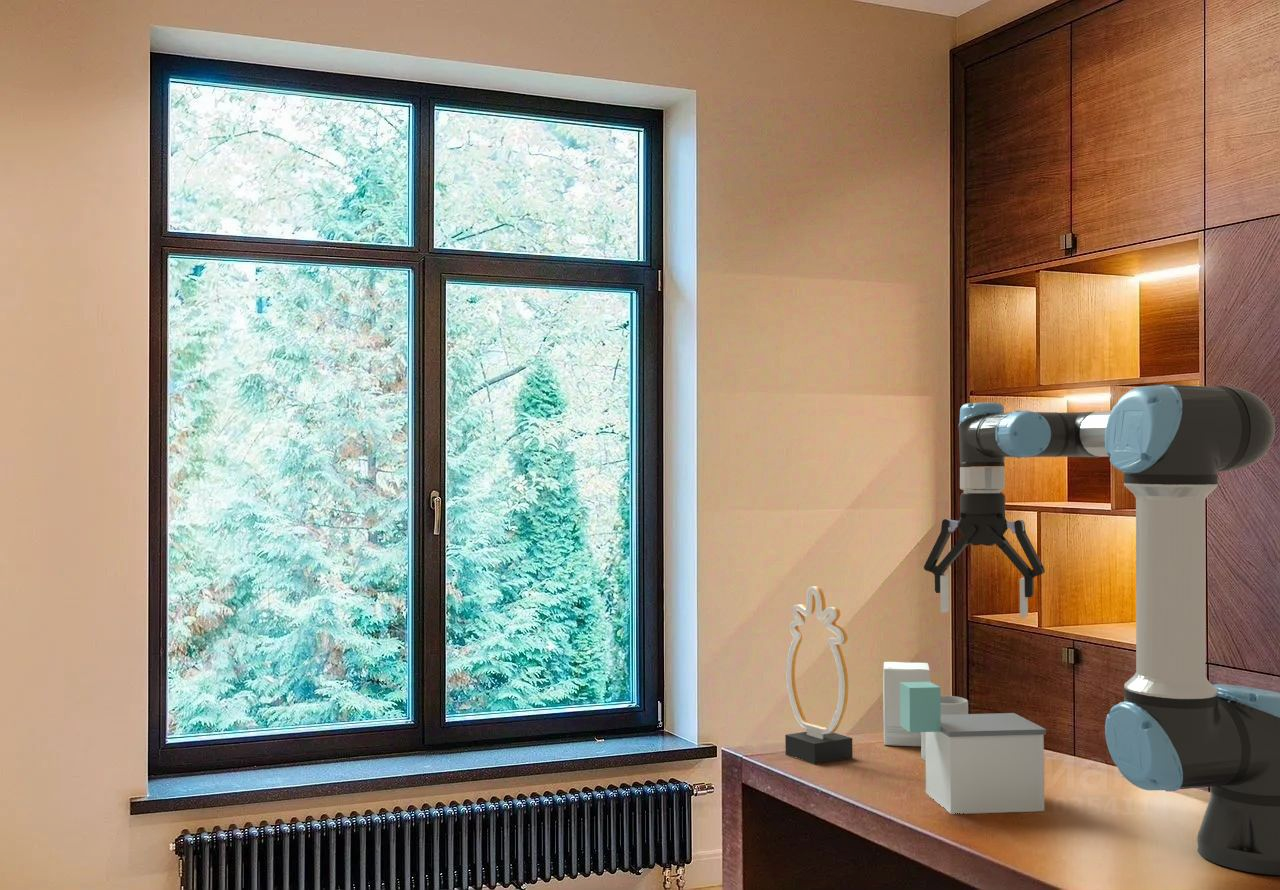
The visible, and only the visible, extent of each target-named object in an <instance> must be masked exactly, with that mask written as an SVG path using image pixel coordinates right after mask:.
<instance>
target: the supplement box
mask: <svg viewBox="0 0 1280 890" xmlns="http://www.w3.org/2000/svg"><path fill="white" fill-rule="evenodd" d="M882 681H883V683H882V684H883V685H882V686H883V691H882V692H883V700H882V701H883V705H882V706H883V744H884V746H896V747H897V746H899V747H903V746H904V747H920V748H921V735H920V732H909V731H907V730H906V729H904V728H903V727H901V726H900V682H931V670H930V666H929V663H928V662H902V661H884V662H883V680H882Z"/></svg>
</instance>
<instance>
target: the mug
mask: <svg viewBox="0 0 1280 890" xmlns="http://www.w3.org/2000/svg"><path fill="white" fill-rule="evenodd" d="M940 703H941V715H953V714H969V700H968V699H966V698H964V697H962V696H961V697H960V696H956V695H955V696H953V695H941V694H940ZM920 735H921V747H920V749H921V751H920V755H921V759H922V760H923V761H924V762H926V747H925V732H920Z"/></svg>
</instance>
